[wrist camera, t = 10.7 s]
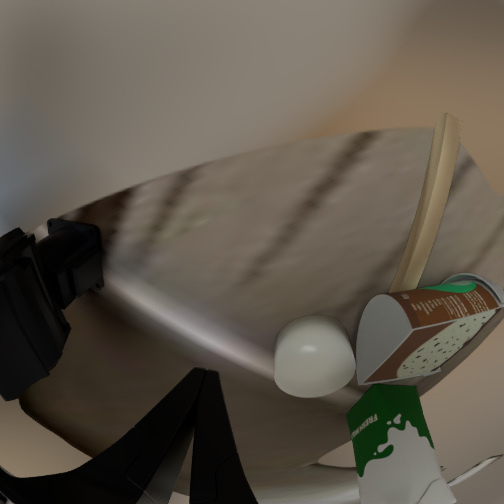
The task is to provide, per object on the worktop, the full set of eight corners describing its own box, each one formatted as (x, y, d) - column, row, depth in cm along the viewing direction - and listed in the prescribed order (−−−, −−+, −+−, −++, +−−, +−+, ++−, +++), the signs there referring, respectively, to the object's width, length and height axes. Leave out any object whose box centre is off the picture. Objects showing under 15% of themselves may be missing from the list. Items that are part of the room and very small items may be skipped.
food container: (341, 332, 25) (422, 324, 25) (352, 390, 20) (437, 373, 21) (389, 235, 16) (481, 241, 16) (424, 313, 12) (515, 298, 12)
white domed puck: (268, 363, 26) (266, 393, 22) (284, 308, 23) (285, 339, 19) (333, 370, 26) (338, 399, 22) (358, 319, 23) (369, 349, 19)
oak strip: (387, 295, 22) (392, 305, 20) (436, 113, 15) (447, 113, 14) (401, 297, 22) (407, 307, 20) (451, 120, 15) (462, 120, 14)
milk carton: (371, 377, 26) (405, 540, 8) (425, 381, 26) (468, 511, 8) (336, 417, 30) (348, 553, 12) (389, 419, 30) (412, 535, 12)
